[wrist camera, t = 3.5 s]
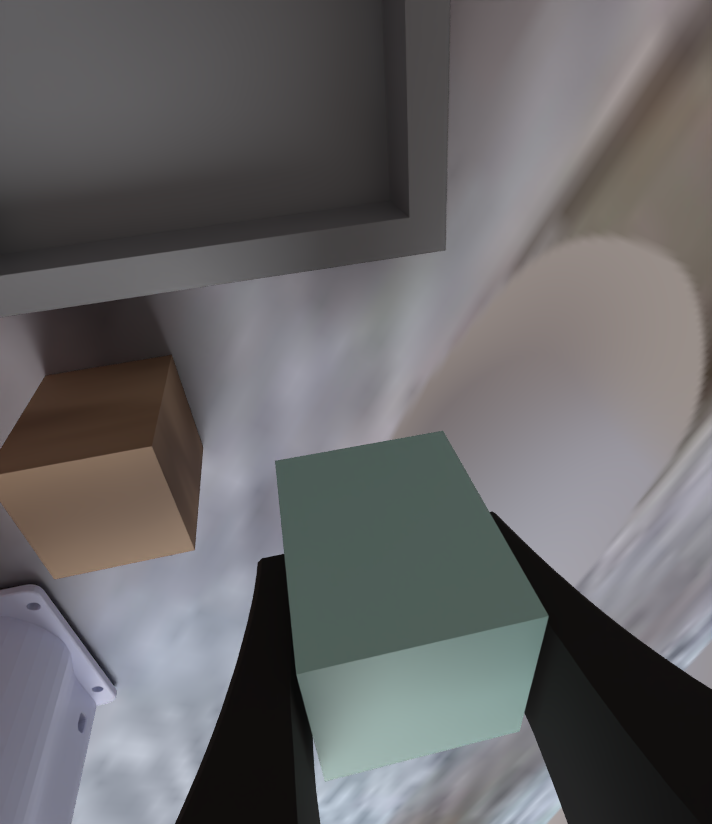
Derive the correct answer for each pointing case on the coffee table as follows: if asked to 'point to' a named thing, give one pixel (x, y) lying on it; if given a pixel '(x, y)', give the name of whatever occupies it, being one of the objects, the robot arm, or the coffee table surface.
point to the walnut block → (105, 467)
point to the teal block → (402, 604)
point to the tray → (215, 142)
